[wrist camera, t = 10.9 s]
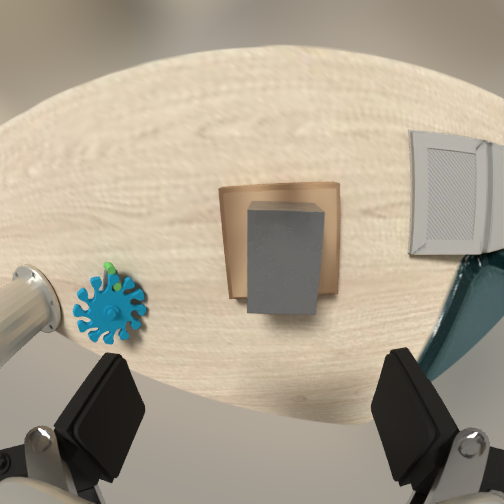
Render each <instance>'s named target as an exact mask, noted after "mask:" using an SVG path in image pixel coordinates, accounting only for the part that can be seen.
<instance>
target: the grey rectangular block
mask: <svg viewBox="0 0 504 504" xmlns="http://www.w3.org/2000/svg"><path fill="white" fill-rule="evenodd" d="M324 220H325V212H324V211H323V210H322V209H321V208H320V207H318V206H317V205H316V204H315V203H309V202H283V201H251V204H250V206H249V208H248V210H247V313H257V314H309V315H315V313H316V305H317V296H318V288H319V278H320V269H321V258H322V247H323V234H324Z"/></svg>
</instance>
